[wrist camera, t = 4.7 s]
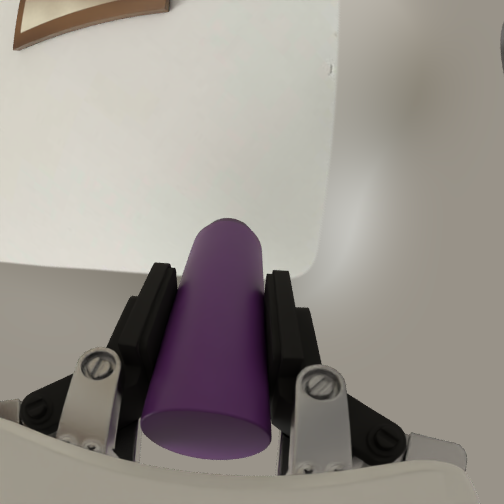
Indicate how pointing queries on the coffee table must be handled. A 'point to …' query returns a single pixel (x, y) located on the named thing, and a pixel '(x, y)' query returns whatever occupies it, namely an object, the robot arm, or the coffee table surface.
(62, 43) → the coffee table surface
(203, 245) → the marker
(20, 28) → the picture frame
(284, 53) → the coffee table surface
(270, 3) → the coffee table surface
